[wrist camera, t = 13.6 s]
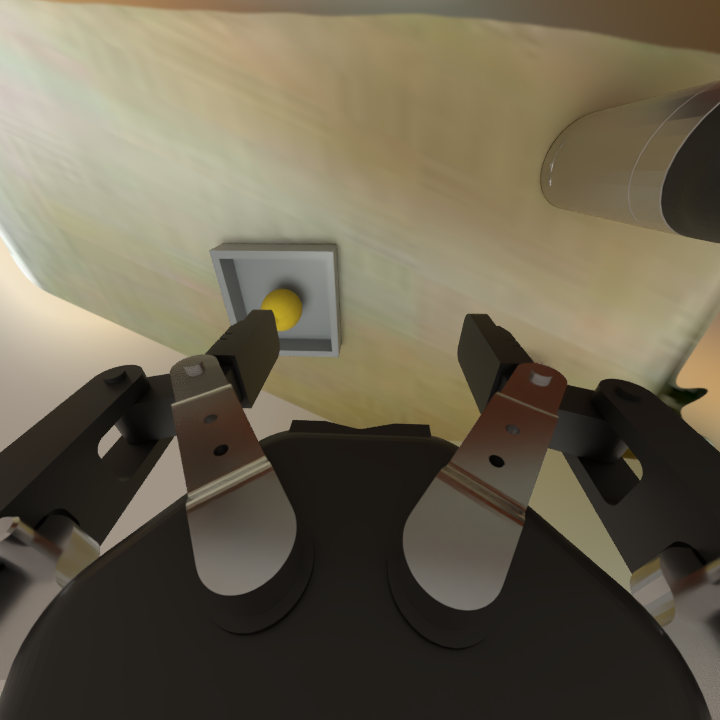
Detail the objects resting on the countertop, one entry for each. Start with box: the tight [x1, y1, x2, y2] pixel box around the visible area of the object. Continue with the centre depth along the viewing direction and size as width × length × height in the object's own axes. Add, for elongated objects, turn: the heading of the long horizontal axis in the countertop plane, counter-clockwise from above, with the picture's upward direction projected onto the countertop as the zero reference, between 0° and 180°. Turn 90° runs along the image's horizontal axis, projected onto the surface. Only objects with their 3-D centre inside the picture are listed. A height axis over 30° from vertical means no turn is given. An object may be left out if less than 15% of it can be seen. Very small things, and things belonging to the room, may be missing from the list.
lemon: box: [261, 289, 302, 331], centre depth 40 cm, size 6×6×8 cm
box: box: [209, 244, 341, 357], centre depth 42 cm, size 16×16×4 cm
